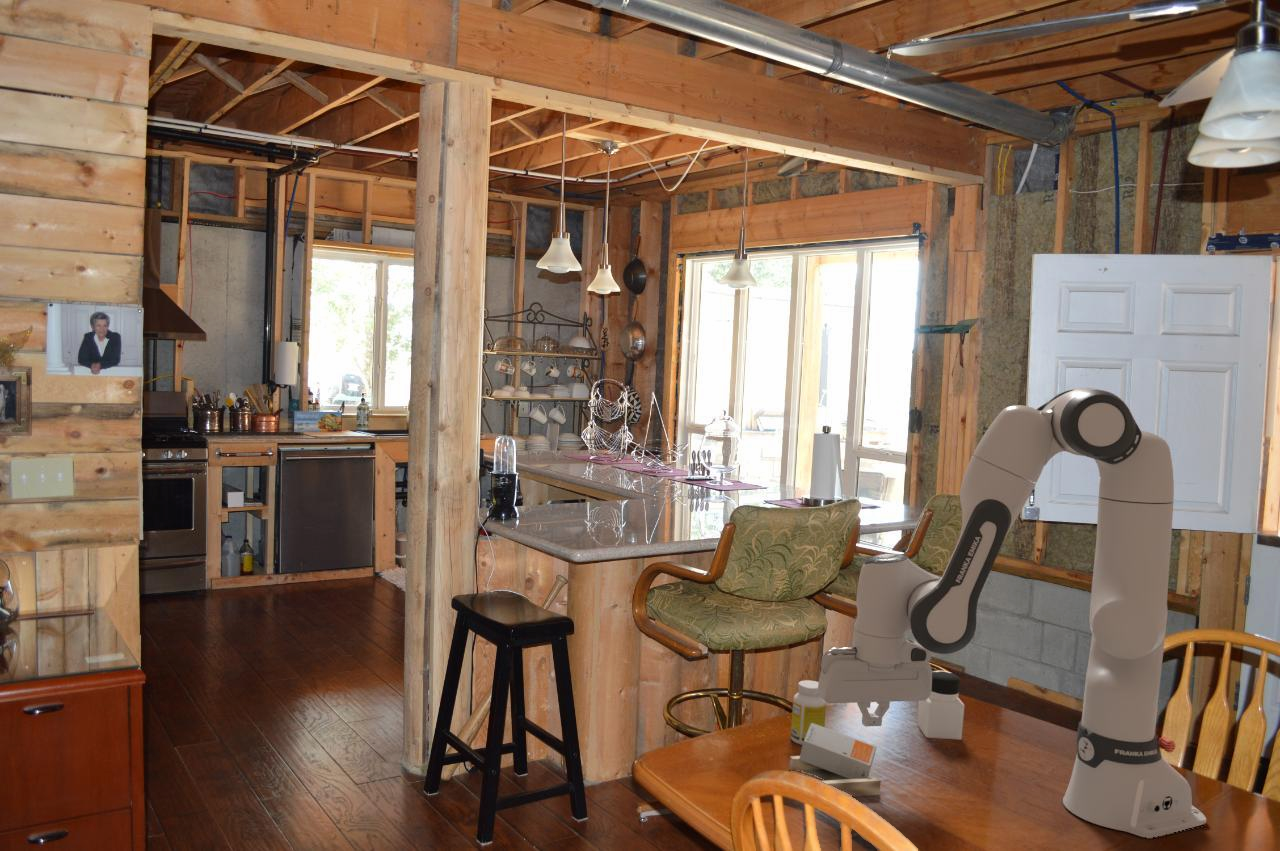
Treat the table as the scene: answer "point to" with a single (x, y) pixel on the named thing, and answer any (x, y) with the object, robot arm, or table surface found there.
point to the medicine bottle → (942, 708)
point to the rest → (837, 779)
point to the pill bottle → (806, 710)
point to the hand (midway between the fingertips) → (871, 725)
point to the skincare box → (837, 752)
